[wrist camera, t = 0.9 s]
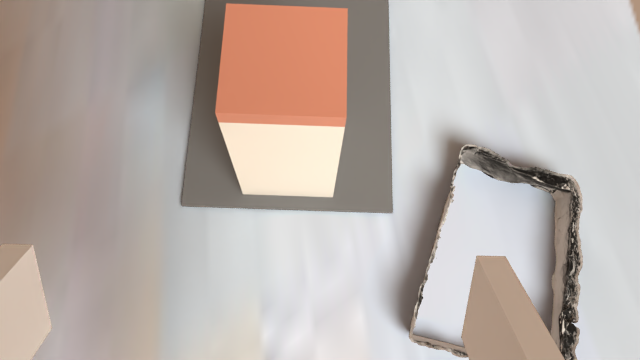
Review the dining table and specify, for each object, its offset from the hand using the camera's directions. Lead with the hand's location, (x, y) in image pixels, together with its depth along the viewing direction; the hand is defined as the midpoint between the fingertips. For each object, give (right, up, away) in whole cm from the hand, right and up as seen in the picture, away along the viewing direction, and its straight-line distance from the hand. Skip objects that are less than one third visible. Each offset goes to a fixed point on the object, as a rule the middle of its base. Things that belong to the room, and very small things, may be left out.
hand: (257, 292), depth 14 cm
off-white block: (0, +5, +22) cm, 23 cm away
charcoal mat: (0, +11, +25) cm, 27 cm away
